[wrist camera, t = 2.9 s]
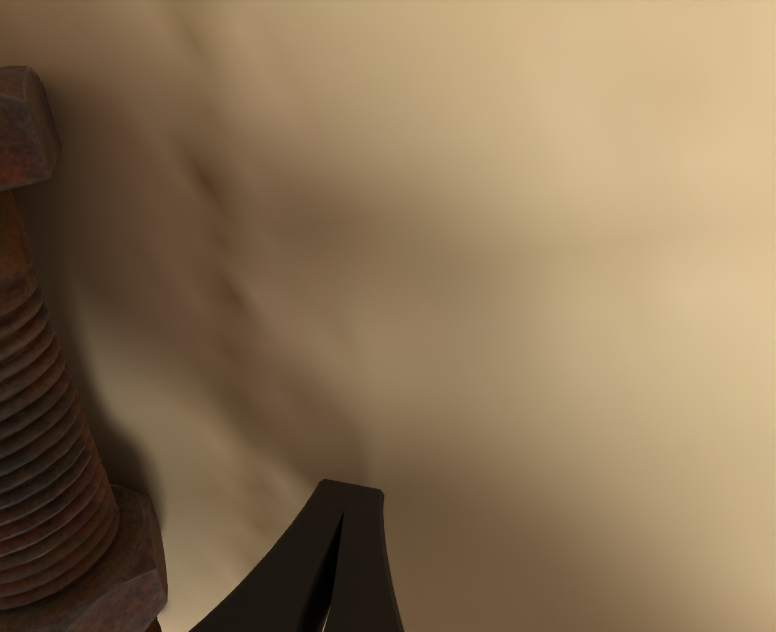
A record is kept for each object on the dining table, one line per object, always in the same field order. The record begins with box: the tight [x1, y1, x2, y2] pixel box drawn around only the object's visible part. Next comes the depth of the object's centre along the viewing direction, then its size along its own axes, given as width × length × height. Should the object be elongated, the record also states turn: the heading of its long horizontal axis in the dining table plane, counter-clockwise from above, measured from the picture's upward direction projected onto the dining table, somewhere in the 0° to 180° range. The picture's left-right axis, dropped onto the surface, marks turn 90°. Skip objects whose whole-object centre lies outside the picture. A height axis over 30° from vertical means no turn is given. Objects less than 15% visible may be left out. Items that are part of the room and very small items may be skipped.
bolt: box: [0, 66, 168, 632], centre depth 12 cm, size 6×5×15 cm
